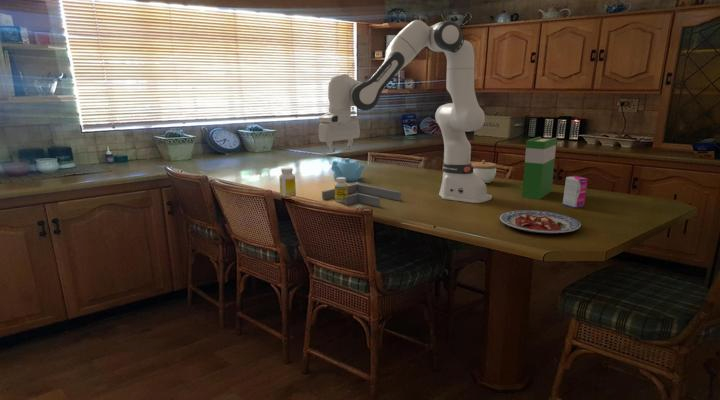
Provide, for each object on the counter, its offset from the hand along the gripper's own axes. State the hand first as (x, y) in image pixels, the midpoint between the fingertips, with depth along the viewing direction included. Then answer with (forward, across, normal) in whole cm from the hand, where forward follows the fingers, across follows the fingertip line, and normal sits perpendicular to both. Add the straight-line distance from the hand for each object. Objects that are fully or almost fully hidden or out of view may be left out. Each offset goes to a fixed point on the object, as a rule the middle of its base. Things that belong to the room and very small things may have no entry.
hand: (340, 151), depth 191 cm
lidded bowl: (+21, -72, +25) cm, 79 cm away
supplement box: (+21, -56, +74) cm, 95 cm away
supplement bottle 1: (+21, +12, -20) cm, 31 cm away
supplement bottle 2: (+21, 0, 0) cm, 21 cm away
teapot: (+21, -33, -29) cm, 49 cm away
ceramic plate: (+21, -21, +75) cm, 81 cm away
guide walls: (+21, -6, +5) cm, 22 cm away
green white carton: (+21, -66, +55) cm, 88 cm away
